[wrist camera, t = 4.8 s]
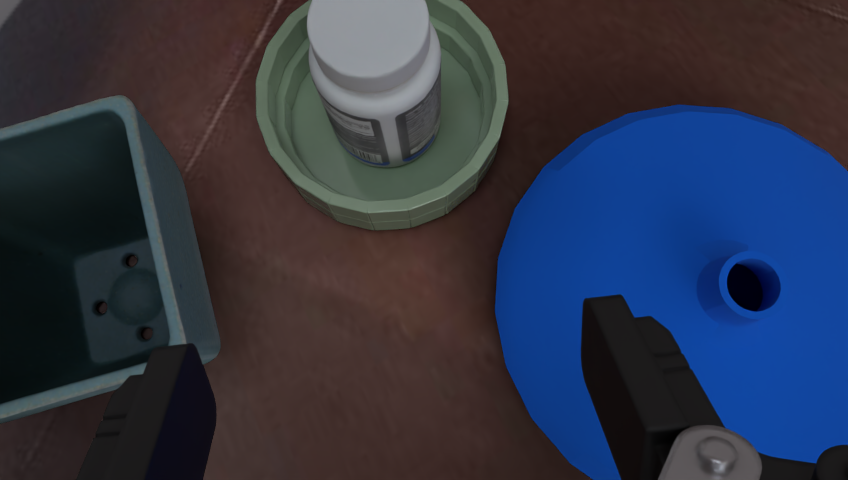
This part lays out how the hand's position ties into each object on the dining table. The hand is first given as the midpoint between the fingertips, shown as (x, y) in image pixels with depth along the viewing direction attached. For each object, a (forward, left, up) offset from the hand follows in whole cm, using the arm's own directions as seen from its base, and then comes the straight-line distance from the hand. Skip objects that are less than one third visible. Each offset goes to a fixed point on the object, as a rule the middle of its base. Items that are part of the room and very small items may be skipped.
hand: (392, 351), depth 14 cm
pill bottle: (+3, +11, -14) cm, 18 cm away
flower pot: (-10, +7, -15) cm, 19 cm away
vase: (+11, -2, -15) cm, 18 cm away
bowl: (+3, +11, -14) cm, 18 cm away
